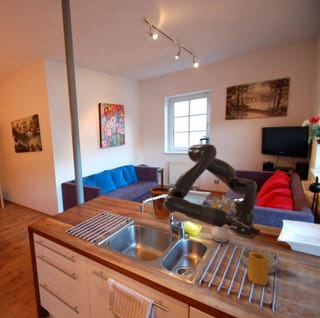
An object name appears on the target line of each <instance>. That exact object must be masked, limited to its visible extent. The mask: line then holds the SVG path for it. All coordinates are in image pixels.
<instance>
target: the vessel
mask: <svg viewBox="0 0 320 318" xmlns="http://www.w3.org/2000/svg"><path fill="white" fill-rule="evenodd" d="M171 190H172V189H169V188H167V187H160V186H159V187H153V188H151V189H150V194H151V196H152V198H153V197H156V196H159V195H162V194H169V193H170V192H171ZM164 200H165V198H160V199H157V200H153V199H152V208H153V209H152V210H153V211H152V216H153V217H155V218H160V219H169V218H171V217H170V215H171V213H168V212H166V211H165V210H164V209H163V201H164Z"/></svg>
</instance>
